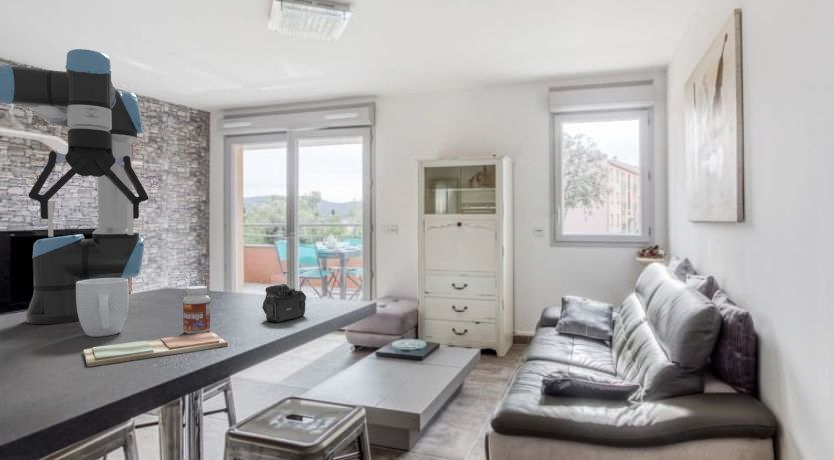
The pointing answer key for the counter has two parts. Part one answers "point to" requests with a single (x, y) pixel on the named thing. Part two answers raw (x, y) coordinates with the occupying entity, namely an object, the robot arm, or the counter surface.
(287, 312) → the camera
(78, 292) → the mug
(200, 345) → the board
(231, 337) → the counter surface
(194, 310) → the pill bottle
